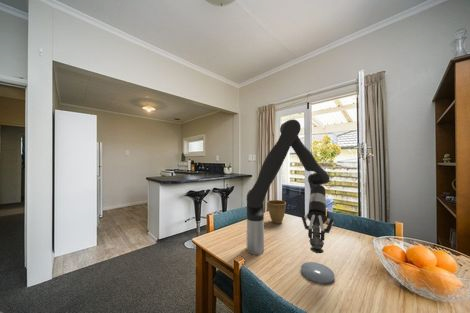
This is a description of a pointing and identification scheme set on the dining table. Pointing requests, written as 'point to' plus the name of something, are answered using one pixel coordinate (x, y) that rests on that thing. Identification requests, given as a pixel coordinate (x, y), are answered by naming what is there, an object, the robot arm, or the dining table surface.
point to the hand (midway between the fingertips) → (316, 239)
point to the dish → (317, 273)
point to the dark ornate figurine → (316, 240)
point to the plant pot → (276, 210)
